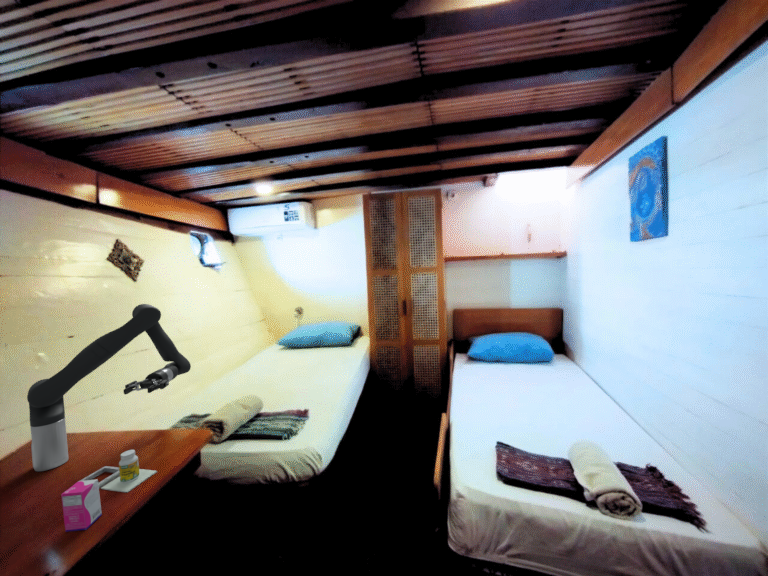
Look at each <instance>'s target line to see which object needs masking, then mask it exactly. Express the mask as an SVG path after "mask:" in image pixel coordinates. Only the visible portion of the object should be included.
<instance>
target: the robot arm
mask: <svg viewBox="0 0 768 576" xmlns="http://www.w3.org/2000/svg"><path fill="white" fill-rule="evenodd" d="M131 315H132V318H130V319H129V320H128V321H126V323H124V324H123V325H121V326H120V327H118V328H116V329H114V330H112V331H109V332H107V333H105V334H103V335H101V336H100V337H98V338H96V339H95V340H94V341H92V342H90V343H89V344H88V345H87V346H85V347H84V348H83V349H81V351H80V352H78V354H76V355H75V356H74V357H73V359H72V360H70V361H69V363H68V364H67V365H65V367H63V368H62V369H61V370H59V371H58V372H56V373H55V374H54V375H52V376H51V377H49V378H44V379H40V380H37V381H36V382H34V383H33V384H32V385H31V386H30V387H29V388H28V390H27V396H26V397H27V402H28V407H29V408H28V409H29V425H30V435H31V436H30V437H31V445H30V449H31V457H32V458H31V459H32V460H31V461H32V468H33V469H34V471H35V472H44V471H48V470H49V471H50V470H52V469H55V468H57V467H60V466H62V465H63V464H65V463H67V462H68V461H69V451H68V450H69V449H68V448H69V447H68V436H67V426H66V416H65V415H66V414H65V413H66V411H65V410H66V409H65V402H64V401H65V400H64V395H66V394H67V393H68V392H69V391H70V390H71V389H72V388H73V387H75V385H77V383H79V382H80V381H81V380H83V379H84V378H85V377H87V376H88V375H90V374H91V373H93V372H94V371H95V370H97V369H99V367H100V366H102V365H104V364H105V363H106V362H107V361H109V360H111V358H113V357H114V356H115V355H116V354H117V353H118V352H120V351H121V350H122V349H124V348H125V347H126V346H127V345H128V344H130V342H132V341H133V340H134V339H136V338H137V337H138V336H140V335H142V334H143V333H144V332H145V333H146V335H148V337H149V338H150V340H151V342H152V344H153V346H154V348H155V349H156V351H157V353H158V354H159V356H160V358H162V360H163V361H164V362H167V363H168V362H169V363H168V364H165V366H164V367H161V368H159V369H157V370H155V371H152V372H150V373H149V374H148V375H147V376H146V377H145V378H144V379H142V380H141V381H140V380H139V381H137V380H134V381H131V382H130V383H127V384H125V385H124V389H123V394H124V395H128V394H130V393H132V392H135V391H136V392H139V391H142V390H147V393H148V394H150V393H151V394H152V392H154V391H158V390H164V389H165V388H166V387H168V386H170V383H169V382H171V381H173V380H174V379H176V378H177V377H178V376H180V375H183V374H186V373H188V372H190V370H191V368H192V367H191V363H190V361H189V360H188V359H187V358H186V357H185V356H184V355H183V354H182V353H181V352H179V350H178V349H177V347H176V345H175V343H174V341H173V340H172V339H171V338H170V336H169V335H168V334H167V333H166V332H165V330H164V329H163V328H162V326H161V324H160V320H161V318H162V313H161V310H160V309H159V308H158V307H155V306H153V305H152V304H149V303H142V304H141V303H139V304H138V305H136V306H134V308H133V309H132V313H131Z"/></svg>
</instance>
